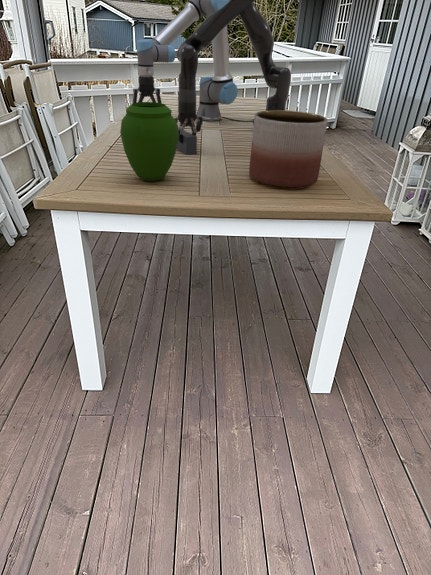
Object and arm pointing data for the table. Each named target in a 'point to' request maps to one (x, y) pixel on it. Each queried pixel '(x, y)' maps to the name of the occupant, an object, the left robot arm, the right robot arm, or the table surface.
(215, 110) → the left robot arm
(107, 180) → the table surface
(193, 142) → the beam
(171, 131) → the vase
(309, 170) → the planter
